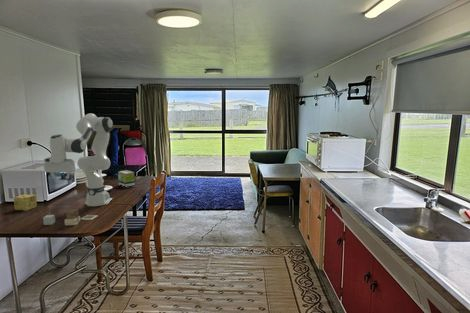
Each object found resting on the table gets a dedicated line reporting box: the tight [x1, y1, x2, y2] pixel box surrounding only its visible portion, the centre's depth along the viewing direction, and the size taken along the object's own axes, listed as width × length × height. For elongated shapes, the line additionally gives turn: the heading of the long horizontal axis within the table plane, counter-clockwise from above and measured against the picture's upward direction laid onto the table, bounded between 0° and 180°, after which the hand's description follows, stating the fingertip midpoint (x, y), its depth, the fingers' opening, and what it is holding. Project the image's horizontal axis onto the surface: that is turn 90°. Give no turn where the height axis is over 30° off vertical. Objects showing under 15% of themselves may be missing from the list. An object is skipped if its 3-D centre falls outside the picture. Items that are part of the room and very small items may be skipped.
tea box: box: [117, 169, 136, 188], centre depth 298 cm, size 15×10×15 cm, turn 49°
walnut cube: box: [65, 208, 79, 219], centre depth 195 cm, size 5×5×5 cm
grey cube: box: [42, 214, 56, 226], centre depth 194 cm, size 5×5×5 cm
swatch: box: [80, 214, 99, 221], centre depth 206 cm, size 8×8×1 cm
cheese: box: [13, 194, 38, 212], centre depth 224 cm, size 10×11×10 cm
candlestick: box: [85, 170, 113, 192], centre depth 275 cm, size 21×25×28 cm
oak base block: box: [64, 215, 81, 226], centre depth 195 cm, size 7×7×4 cm
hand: (60, 178), depth 201 cm, fingers open, 8 cm apart
